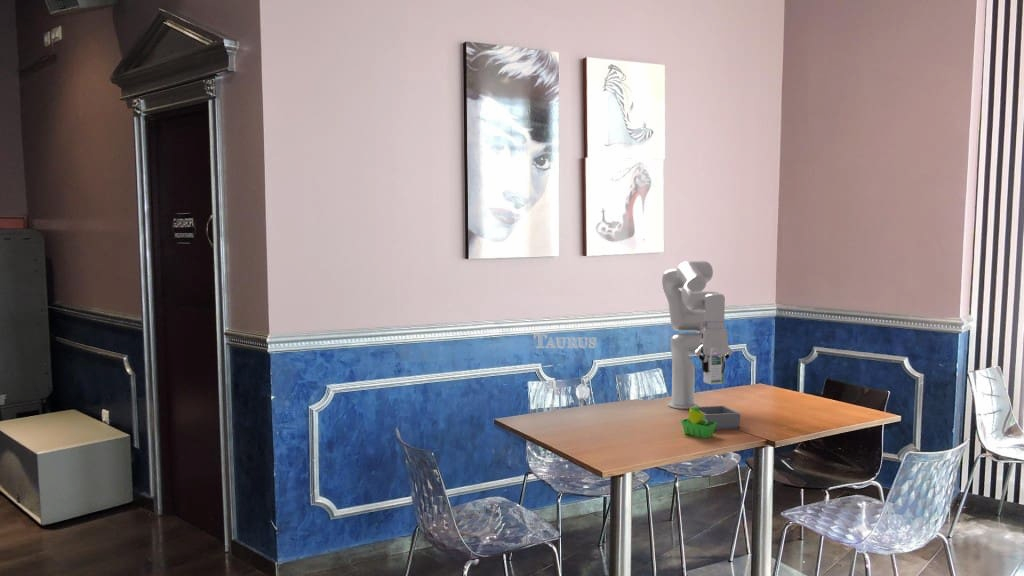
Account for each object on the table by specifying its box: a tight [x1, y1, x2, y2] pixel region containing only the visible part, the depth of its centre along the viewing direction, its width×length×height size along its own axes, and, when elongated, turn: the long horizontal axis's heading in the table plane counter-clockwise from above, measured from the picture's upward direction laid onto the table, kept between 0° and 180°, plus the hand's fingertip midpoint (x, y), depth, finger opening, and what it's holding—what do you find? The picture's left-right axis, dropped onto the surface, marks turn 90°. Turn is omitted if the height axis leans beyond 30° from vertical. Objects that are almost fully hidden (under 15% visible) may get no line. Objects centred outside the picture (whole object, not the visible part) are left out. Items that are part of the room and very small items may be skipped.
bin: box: [689, 405, 741, 431], centre depth 311 cm, size 14×14×6 cm
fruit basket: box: [680, 406, 717, 439], centre depth 296 cm, size 11×9×11 cm
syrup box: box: [703, 348, 725, 385], centre depth 310 cm, size 6×6×14 cm
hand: (713, 371), depth 310 cm, fingers closed on syrup box, 6 cm apart
